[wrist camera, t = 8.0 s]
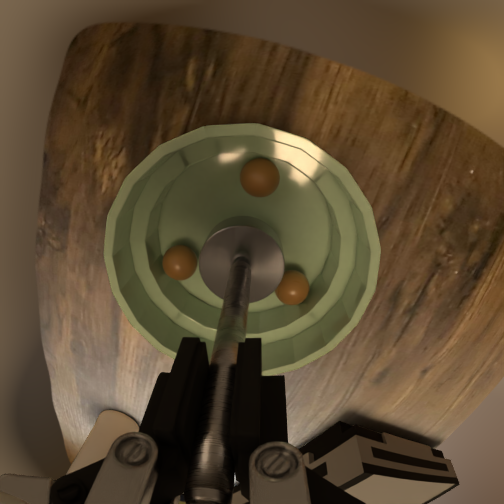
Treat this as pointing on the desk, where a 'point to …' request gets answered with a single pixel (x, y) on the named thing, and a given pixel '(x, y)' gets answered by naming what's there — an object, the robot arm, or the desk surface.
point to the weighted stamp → (229, 342)
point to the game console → (376, 466)
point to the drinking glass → (103, 437)
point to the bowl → (242, 204)
